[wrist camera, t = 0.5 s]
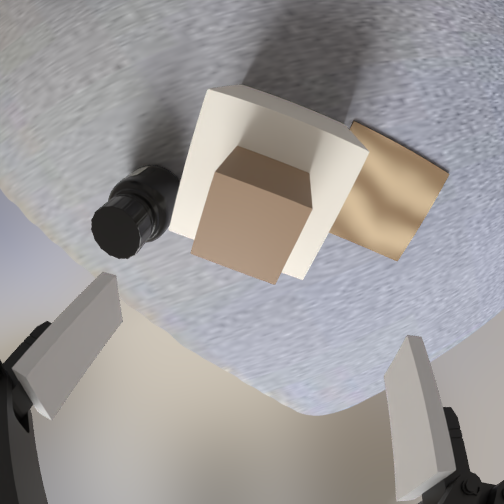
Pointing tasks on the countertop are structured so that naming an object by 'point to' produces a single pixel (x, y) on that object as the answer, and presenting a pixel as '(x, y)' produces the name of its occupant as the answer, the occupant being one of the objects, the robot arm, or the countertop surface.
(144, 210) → the ink bottle
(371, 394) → the countertop surface
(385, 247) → the plate
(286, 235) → the cover
